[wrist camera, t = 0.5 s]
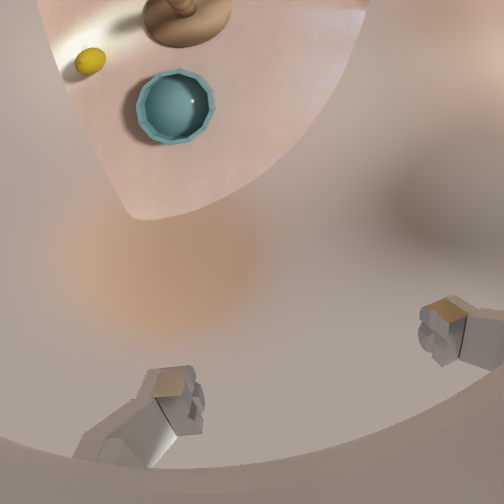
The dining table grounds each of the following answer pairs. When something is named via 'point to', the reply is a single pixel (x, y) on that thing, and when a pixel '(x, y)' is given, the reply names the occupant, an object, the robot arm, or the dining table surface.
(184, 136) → the bowl
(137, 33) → the dining table surface
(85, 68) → the lemon
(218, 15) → the lid
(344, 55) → the dining table surface
